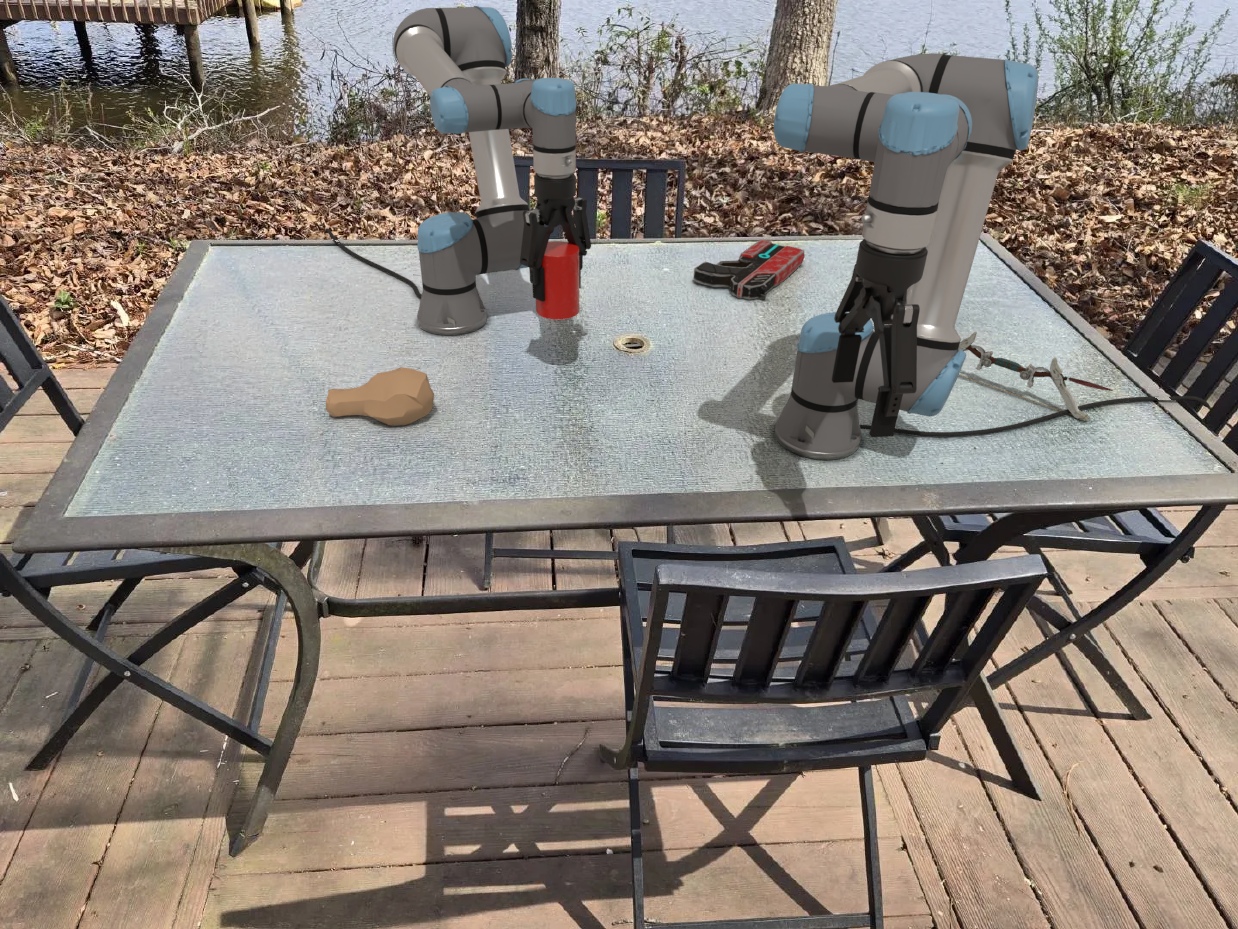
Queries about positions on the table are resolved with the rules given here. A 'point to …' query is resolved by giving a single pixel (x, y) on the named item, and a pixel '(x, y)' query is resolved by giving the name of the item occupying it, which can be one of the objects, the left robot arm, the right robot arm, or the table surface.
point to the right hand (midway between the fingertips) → (860, 406)
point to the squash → (386, 397)
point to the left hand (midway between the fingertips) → (557, 292)
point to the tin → (560, 281)
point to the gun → (752, 270)
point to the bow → (1031, 375)
